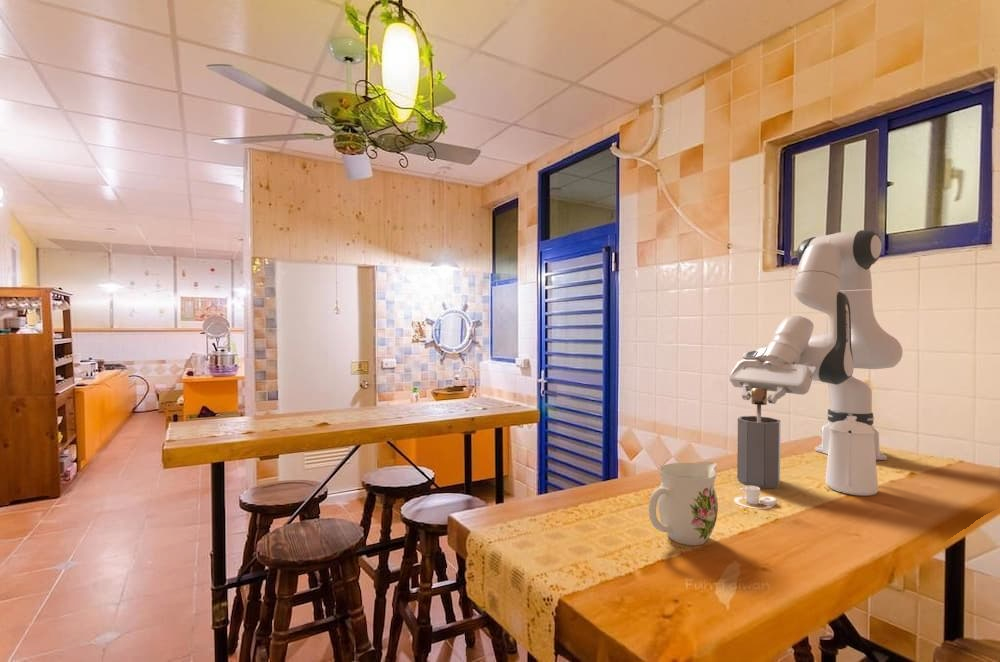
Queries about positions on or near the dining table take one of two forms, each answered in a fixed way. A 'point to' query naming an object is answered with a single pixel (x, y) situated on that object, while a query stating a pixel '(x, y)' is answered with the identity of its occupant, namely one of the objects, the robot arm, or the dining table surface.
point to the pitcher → (686, 502)
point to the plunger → (759, 400)
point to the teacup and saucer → (755, 498)
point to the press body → (758, 452)
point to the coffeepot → (852, 458)
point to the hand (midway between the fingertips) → (757, 400)
